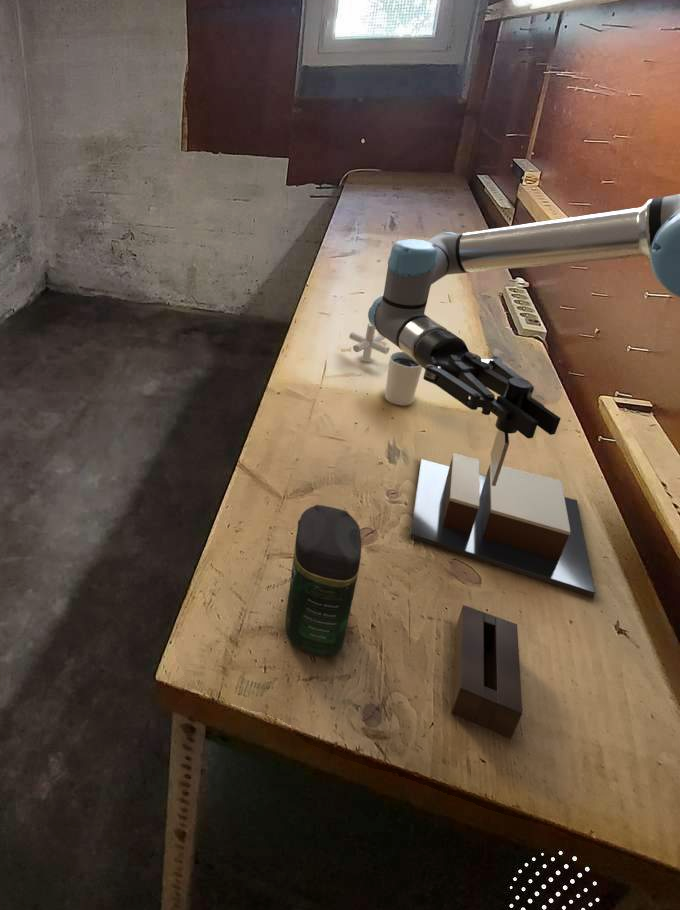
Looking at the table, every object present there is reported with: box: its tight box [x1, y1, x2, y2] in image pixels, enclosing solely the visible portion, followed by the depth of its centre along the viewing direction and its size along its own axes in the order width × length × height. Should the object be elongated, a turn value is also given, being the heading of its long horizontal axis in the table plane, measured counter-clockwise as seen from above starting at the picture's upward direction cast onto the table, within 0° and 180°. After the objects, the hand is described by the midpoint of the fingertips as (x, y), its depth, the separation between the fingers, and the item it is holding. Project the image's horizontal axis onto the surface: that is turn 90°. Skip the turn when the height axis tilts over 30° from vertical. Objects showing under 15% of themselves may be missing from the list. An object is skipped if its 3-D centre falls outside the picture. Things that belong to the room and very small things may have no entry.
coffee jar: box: [285, 504, 362, 658], centre depth 73 cm, size 10×8×19 cm
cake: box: [482, 462, 571, 561], centre depth 90 cm, size 10×12×6 cm
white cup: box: [384, 351, 423, 406], centre depth 123 cm, size 7×7×10 cm
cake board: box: [409, 458, 597, 598], centre depth 92 cm, size 24×20×1 cm
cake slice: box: [443, 452, 481, 534], centre depth 93 cm, size 4×12×6 cm, turn 152°
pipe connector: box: [348, 322, 390, 363], centre depth 137 cm, size 10×10×10 cm
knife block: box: [451, 604, 524, 739], centre depth 69 cm, size 12×6×5 cm, turn 151°
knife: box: [490, 377, 533, 486], centre depth 83 cm, size 8×3×16 cm, turn 152°
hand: (544, 428), depth 77 cm, fingers closed on knife, 3 cm apart
